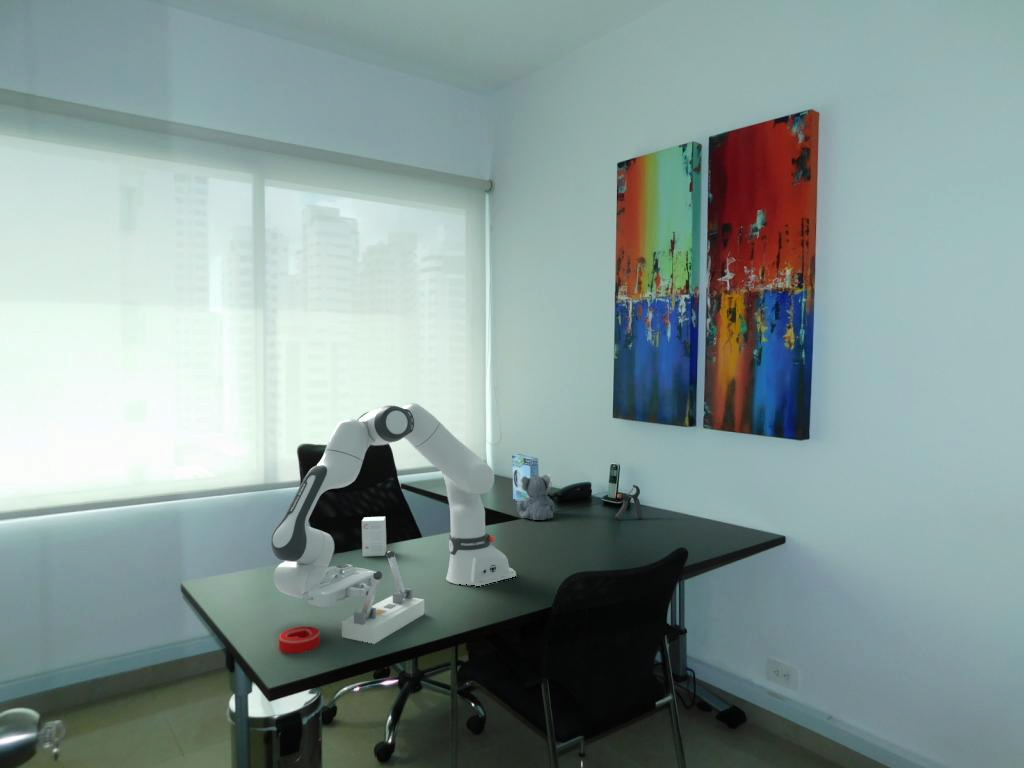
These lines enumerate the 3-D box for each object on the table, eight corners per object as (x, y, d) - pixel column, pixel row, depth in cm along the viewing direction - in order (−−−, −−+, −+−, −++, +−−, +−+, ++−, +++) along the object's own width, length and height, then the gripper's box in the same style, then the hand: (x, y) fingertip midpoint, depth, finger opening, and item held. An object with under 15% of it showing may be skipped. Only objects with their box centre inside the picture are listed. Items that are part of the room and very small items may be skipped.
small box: (386, 551, 248) (386, 516, 247) (385, 556, 241) (384, 520, 241) (364, 552, 247) (363, 516, 246) (362, 557, 240) (361, 520, 240)
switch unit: (394, 608, 189) (394, 585, 189) (424, 614, 184) (424, 590, 184) (342, 637, 169) (341, 611, 169) (373, 644, 165) (373, 617, 164)
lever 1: (364, 613, 171) (379, 567, 169) (371, 618, 170) (386, 572, 168) (356, 617, 169) (371, 571, 166) (363, 622, 168) (378, 575, 165)
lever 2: (403, 597, 185) (389, 550, 187) (410, 595, 184) (395, 548, 186) (397, 601, 183) (383, 553, 184) (403, 599, 182) (389, 551, 183)
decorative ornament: (320, 636, 170) (320, 624, 170) (319, 652, 161) (318, 639, 161) (281, 640, 168) (280, 628, 168) (277, 656, 159) (276, 643, 159)
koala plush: (553, 512, 309) (553, 470, 309) (559, 521, 292) (558, 477, 291) (516, 513, 308) (515, 471, 308) (519, 522, 290) (518, 477, 290)
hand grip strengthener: (614, 519, 294) (613, 485, 294) (641, 518, 297) (641, 484, 296) (615, 520, 292) (615, 486, 292) (643, 519, 294) (642, 485, 294)
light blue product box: (539, 505, 326) (539, 458, 326) (530, 506, 324) (529, 459, 324) (521, 498, 344) (520, 453, 343) (512, 499, 342) (511, 454, 341)
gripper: (297, 584, 166) (340, 592, 159) (352, 562, 184) (393, 568, 178) (297, 609, 166) (340, 618, 159) (352, 585, 184) (393, 592, 178)
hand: (368, 592), depth 169 cm, fingers closed, pressing on lever 1
